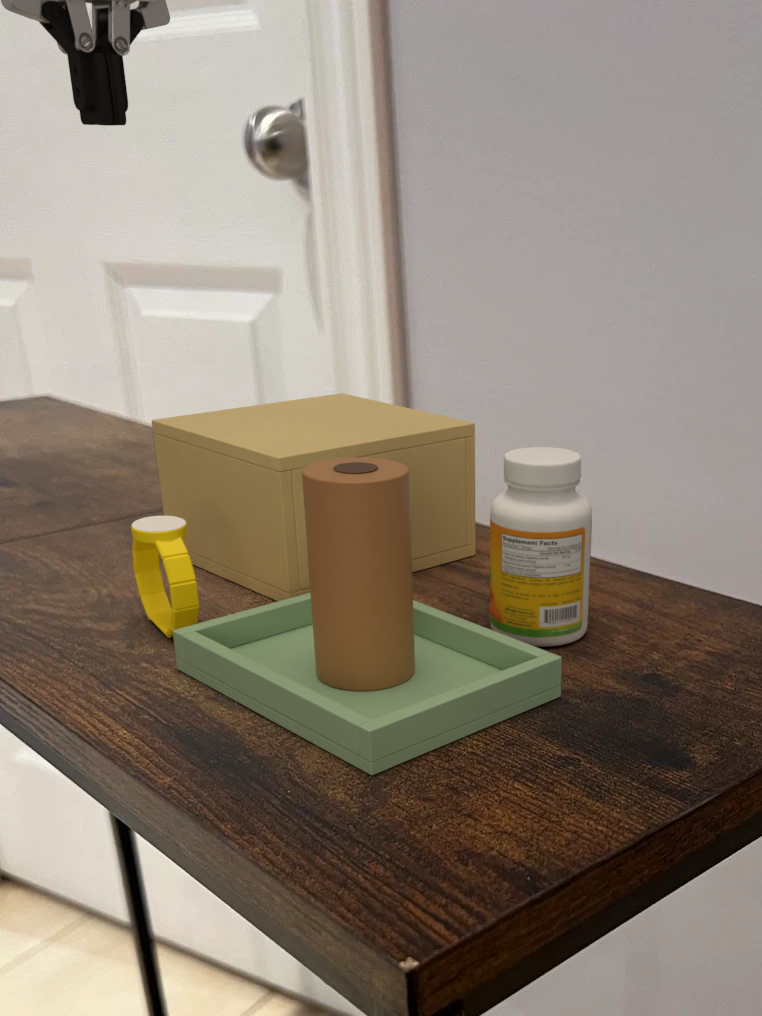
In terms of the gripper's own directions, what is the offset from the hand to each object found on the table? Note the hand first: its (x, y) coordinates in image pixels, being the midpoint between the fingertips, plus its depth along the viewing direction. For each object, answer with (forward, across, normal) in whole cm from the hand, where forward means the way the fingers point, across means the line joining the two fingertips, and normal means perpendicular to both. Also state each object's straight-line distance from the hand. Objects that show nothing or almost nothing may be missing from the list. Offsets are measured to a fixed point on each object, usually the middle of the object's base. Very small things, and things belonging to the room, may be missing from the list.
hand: (103, 124), depth 76 cm
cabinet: (+25, -1, +20) cm, 32 cm away
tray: (+25, +10, +38) cm, 47 cm away
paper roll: (+24, +10, +38) cm, 46 cm away
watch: (+25, +13, +25) cm, 38 cm away
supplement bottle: (+25, -2, +39) cm, 47 cm away
